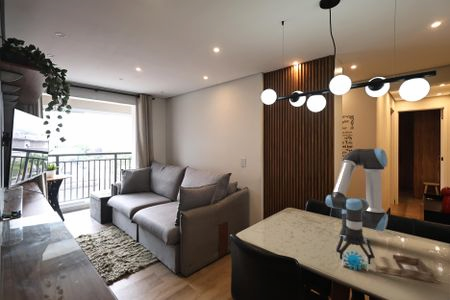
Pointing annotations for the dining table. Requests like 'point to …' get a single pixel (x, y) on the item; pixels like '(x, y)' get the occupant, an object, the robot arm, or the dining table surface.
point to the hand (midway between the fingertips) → (354, 267)
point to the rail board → (403, 267)
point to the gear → (354, 261)
